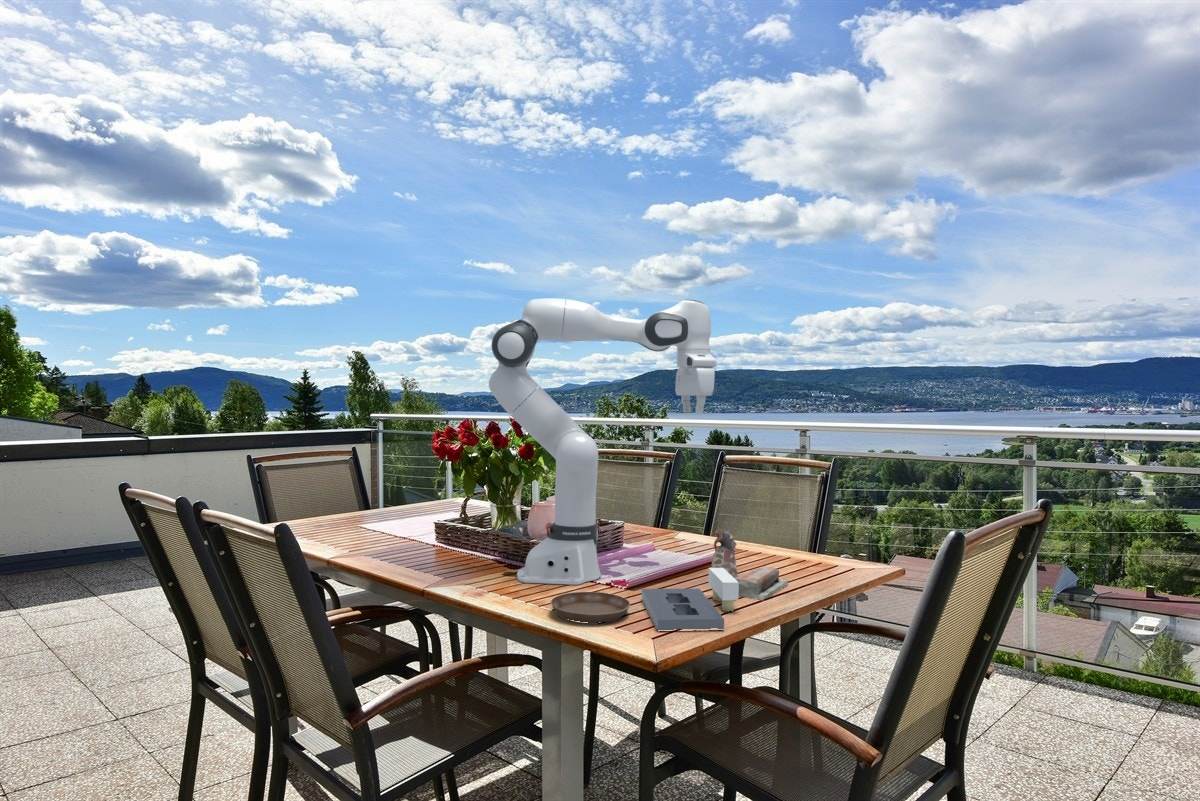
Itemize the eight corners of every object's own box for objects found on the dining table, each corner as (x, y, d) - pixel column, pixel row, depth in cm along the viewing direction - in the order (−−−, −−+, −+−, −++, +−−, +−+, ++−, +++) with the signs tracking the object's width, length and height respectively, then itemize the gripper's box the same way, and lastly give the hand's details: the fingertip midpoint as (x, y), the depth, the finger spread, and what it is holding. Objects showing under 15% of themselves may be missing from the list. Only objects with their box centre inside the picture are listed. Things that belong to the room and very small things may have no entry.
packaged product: (765, 582, 176) (726, 576, 181) (764, 602, 176) (725, 596, 181) (788, 567, 191) (752, 562, 196) (788, 586, 191) (752, 581, 196)
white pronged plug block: (738, 613, 165) (738, 582, 165) (722, 613, 165) (722, 582, 165) (722, 596, 179) (723, 567, 179) (708, 596, 179) (708, 567, 179)
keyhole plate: (723, 630, 153) (724, 618, 153) (657, 631, 152) (657, 619, 152) (699, 598, 177) (699, 588, 177) (641, 599, 176) (641, 589, 176)
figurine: (737, 579, 196) (738, 534, 196) (710, 577, 198) (711, 533, 198) (737, 572, 203) (738, 529, 203) (712, 571, 205) (712, 528, 205)
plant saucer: (629, 604, 172) (630, 591, 172) (630, 628, 154) (630, 614, 154) (554, 603, 173) (554, 590, 173) (546, 626, 155) (546, 612, 155)
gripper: (670, 362, 205) (669, 411, 206) (695, 359, 186) (694, 413, 186) (691, 362, 207) (690, 412, 207) (719, 359, 187) (718, 414, 187)
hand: (693, 412), depth 196 cm, fingers open, 8 cm apart
